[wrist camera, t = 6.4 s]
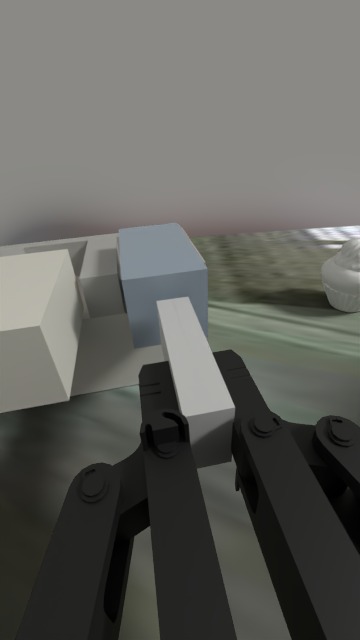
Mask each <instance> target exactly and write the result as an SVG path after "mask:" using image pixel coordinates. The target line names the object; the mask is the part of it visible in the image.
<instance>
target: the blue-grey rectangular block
mask: <svg viewBox="0 0 360 640" xmlns="http://www.w3.org/2000/svg"><path fill="white" fill-rule="evenodd" d="M119 244H120V262H121V280H122V286H123V291H124V296H125V302H126V307H127V313H128V318H129V323H130V329H131V334H132V339H133V345H134V349H137V348H143V347H149V346H155V345H161V336H160V328H159V319H158V311H157V302H156V301H160V300H167V299H174V298H182V297H189V300H190V302H191V304H192V307H193V309H194V311H195V314H196V316H197V318H198V321H199V323H200V326H201V328H202V330H203V333H204V335H205V337H208V269H207V267H206V266H205V264H204V263H203V261H202V260H201V258H200V257H199V255H198V254H197V252H196V251H195V249H194V248H193V246H192V245H191V243H190V242H189V240H188V239H187V237H186V236H185V234H184V233H183V231H182V229H181V228H180V226H179V225H178V224H177V223H170V224H161V225H152V226H143V227H134V228H125V229H119Z"/></svg>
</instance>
